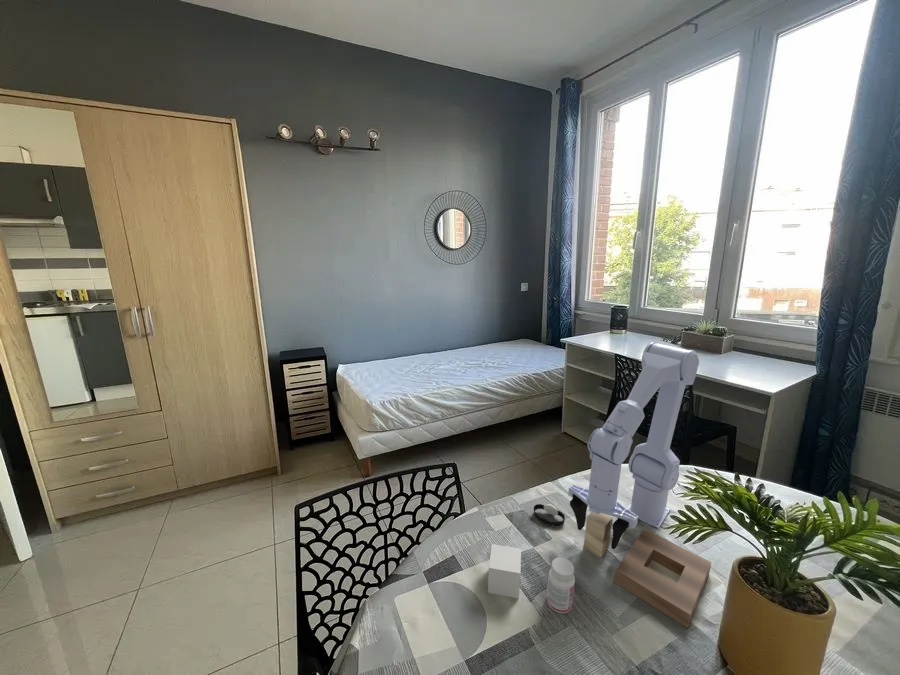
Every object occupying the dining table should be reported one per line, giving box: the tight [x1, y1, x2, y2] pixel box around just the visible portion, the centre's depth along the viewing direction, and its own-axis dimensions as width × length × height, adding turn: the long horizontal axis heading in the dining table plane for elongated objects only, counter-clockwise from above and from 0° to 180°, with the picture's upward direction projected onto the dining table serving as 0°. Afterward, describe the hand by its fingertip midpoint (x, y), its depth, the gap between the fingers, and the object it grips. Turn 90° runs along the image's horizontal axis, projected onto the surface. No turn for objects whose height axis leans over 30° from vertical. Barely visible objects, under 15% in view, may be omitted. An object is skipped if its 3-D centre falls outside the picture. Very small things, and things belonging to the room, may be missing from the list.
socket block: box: [613, 528, 712, 629], centre depth 76 cm, size 16×13×3 cm
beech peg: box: [583, 511, 614, 558], centre depth 83 cm, size 4×4×8 cm
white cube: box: [487, 543, 522, 599], centre depth 74 cm, size 6×6×6 cm
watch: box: [533, 503, 566, 527], centre depth 92 cm, size 8×5×4 cm, turn 58°
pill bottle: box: [545, 557, 576, 614], centre depth 70 cm, size 5×5×8 cm
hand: (597, 536), depth 83 cm, fingers open, 7 cm apart
